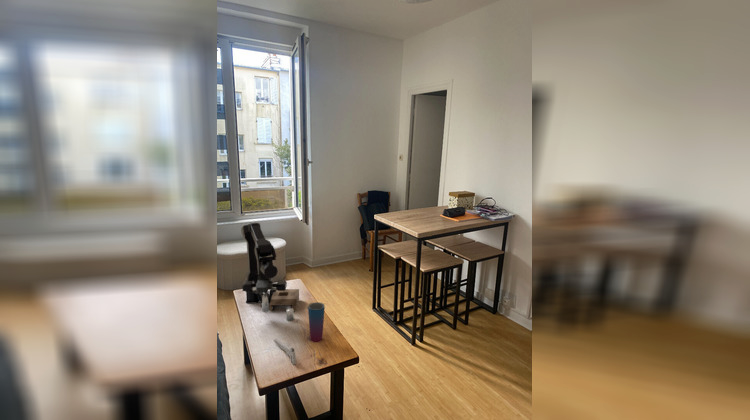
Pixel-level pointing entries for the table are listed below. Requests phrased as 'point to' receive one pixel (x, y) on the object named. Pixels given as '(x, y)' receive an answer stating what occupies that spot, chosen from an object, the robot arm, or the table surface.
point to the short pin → (290, 314)
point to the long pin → (265, 302)
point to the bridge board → (285, 298)
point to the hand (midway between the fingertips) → (265, 303)
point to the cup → (316, 321)
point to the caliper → (287, 351)
